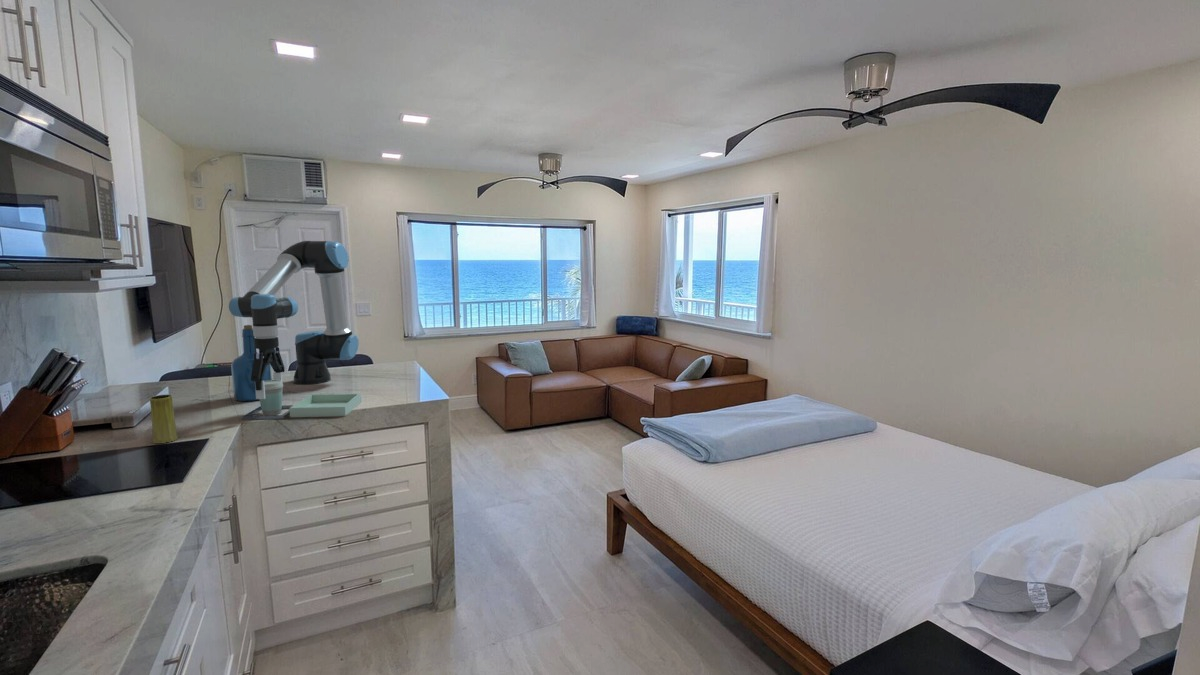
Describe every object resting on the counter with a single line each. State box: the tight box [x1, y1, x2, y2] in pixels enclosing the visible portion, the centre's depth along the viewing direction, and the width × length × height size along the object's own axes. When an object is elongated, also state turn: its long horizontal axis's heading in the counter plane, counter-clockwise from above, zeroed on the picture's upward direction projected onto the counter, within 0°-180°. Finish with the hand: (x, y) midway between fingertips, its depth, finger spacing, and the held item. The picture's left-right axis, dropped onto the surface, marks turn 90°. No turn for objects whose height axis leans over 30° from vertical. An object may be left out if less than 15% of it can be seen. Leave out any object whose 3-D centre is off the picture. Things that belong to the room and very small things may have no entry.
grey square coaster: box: [241, 404, 294, 421], centre depth 191 cm, size 14×14×1 cm
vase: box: [149, 394, 179, 444], centre depth 160 cm, size 6×6×14 cm
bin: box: [289, 392, 362, 418], centre depth 197 cm, size 19×19×4 cm
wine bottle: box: [230, 324, 273, 402], centre depth 208 cm, size 14×13×30 cm
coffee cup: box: [258, 379, 284, 416], centre depth 190 cm, size 8×9×12 cm
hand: (270, 394), depth 189 cm, fingers open, 13 cm apart
